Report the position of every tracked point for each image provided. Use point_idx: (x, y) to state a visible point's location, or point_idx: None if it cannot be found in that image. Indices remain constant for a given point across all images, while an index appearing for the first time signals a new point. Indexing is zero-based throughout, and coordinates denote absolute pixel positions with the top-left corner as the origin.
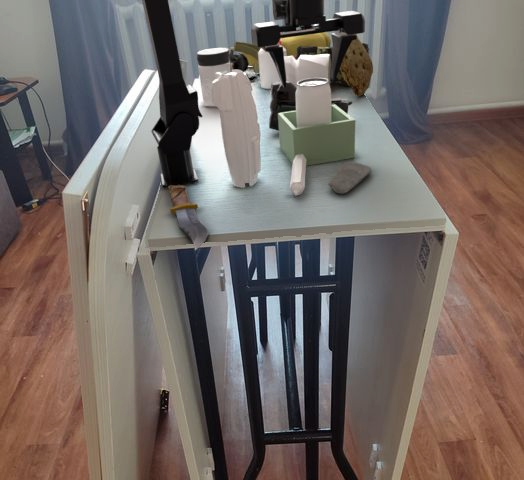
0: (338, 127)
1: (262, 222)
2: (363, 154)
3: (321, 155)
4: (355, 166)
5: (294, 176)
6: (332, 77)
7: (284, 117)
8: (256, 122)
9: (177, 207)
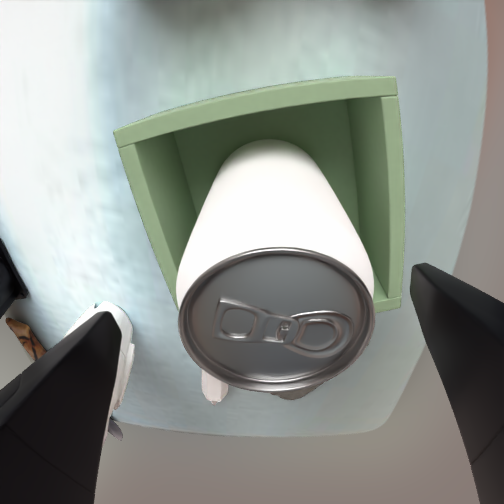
0: None
1: (173, 420)
2: None
3: None
4: None
5: (208, 384)
6: (416, 286)
7: (146, 204)
8: (107, 430)
9: None
